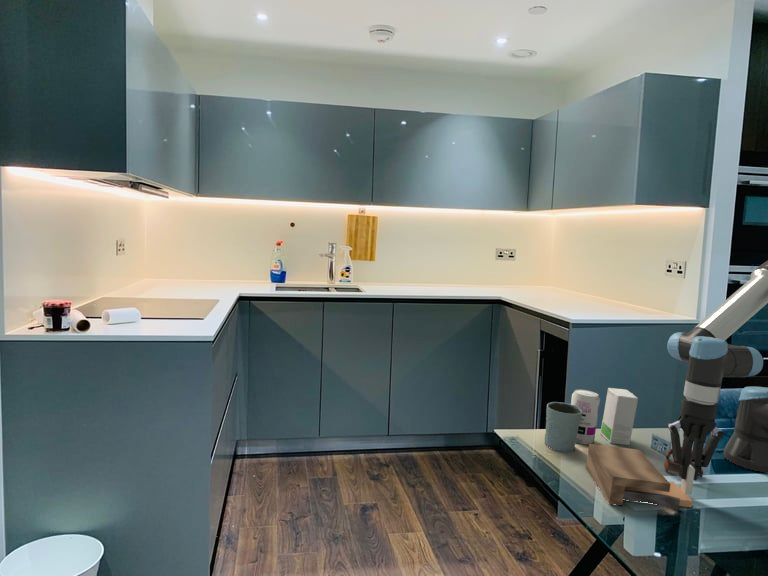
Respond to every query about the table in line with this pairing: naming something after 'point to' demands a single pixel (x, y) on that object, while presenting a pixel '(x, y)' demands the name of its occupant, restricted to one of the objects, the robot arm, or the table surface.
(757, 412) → the robot arm
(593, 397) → the supplement can
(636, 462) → the walnut shelf
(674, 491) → the terracotta panel
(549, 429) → the grey cylindrical pot
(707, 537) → the table surface
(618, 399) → the skincare box
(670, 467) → the broken clay pot
